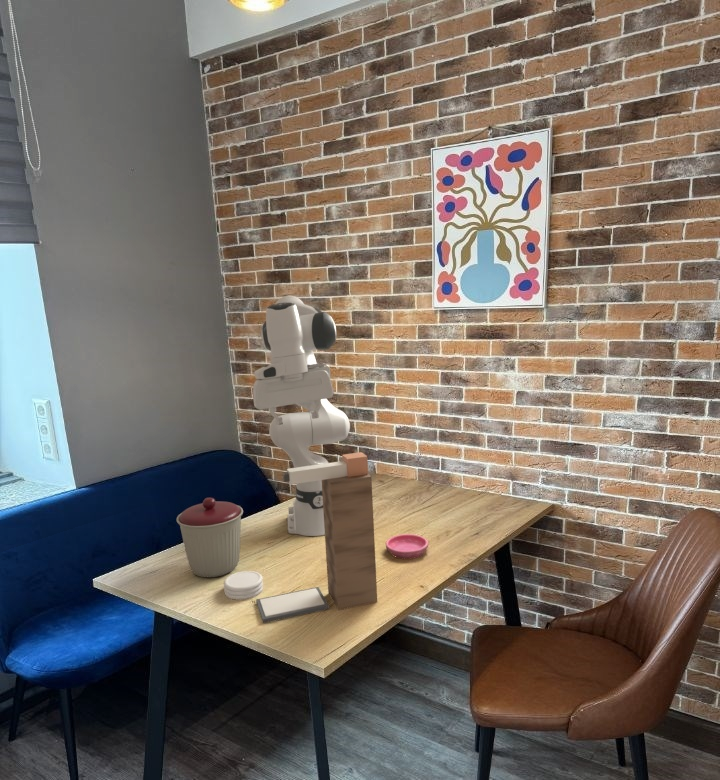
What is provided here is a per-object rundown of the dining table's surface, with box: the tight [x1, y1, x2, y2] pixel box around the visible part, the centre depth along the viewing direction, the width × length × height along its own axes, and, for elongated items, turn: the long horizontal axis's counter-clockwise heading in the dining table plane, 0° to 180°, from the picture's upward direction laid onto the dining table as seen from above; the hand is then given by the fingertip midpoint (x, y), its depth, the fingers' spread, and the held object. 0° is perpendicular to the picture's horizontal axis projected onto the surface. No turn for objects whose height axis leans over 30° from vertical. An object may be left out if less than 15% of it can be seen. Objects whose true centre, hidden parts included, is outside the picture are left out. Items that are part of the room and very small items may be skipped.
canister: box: [176, 497, 244, 578], centre depth 167 cm, size 18×18×21 cm
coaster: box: [223, 570, 264, 601], centre depth 155 cm, size 10×10×4 cm
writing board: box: [255, 586, 330, 624], centre depth 146 cm, size 10×16×1 cm, turn 109°
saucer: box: [385, 533, 429, 560], centre depth 173 cm, size 12×12×3 cm
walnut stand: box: [322, 473, 378, 611], centre depth 146 cm, size 9×10×32 cm
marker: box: [282, 451, 369, 486], centre depth 142 cm, size 4×20×4 cm, turn 109°
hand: (297, 421), depth 150 cm, fingers open, 8 cm apart
